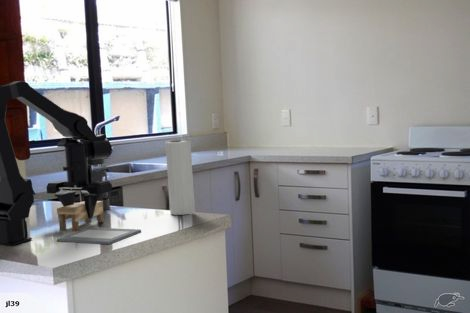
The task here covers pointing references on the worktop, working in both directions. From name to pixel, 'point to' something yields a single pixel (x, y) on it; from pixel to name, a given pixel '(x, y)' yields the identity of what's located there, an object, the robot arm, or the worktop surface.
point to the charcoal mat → (99, 235)
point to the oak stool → (78, 214)
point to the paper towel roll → (180, 177)
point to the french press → (101, 198)
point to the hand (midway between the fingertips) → (81, 218)
